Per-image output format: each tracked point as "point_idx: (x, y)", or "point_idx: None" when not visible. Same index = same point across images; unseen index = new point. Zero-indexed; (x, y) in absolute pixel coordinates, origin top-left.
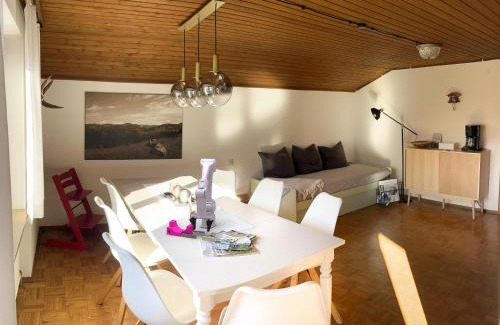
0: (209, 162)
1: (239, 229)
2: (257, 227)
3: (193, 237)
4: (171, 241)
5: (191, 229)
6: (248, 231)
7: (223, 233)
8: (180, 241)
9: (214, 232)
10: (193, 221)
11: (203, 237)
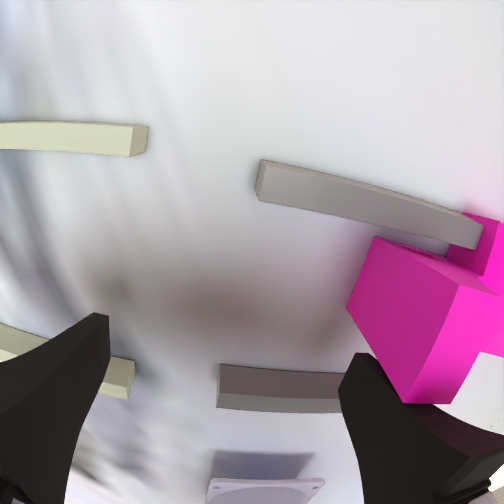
0: None
1: (73, 483)
2: None
3: (302, 170)
4: (483, 25)
5: (396, 317)
6: None
7: (2, 357)
8: (410, 15)
9: None
10: (418, 460)
11: (108, 124)
